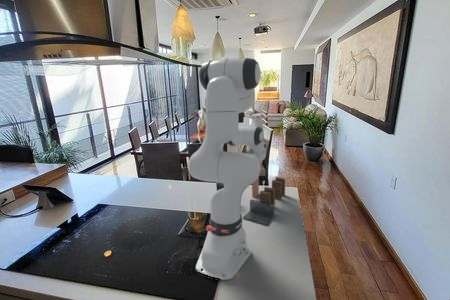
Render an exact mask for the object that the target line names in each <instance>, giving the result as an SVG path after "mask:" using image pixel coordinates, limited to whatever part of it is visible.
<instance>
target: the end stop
mask: <svg viewBox="0 0 450 300" xmlns="http://www.w3.org/2000/svg"><path fill="white" fill-rule="evenodd" d="M275 207H276V206H275V205H273V204H269V203H265V202H261V201H260V200H256V199H250V200H249V211H248V212H247V213H246V214H245V215H244V216H242V220H246V221H248V222H249V221H250V222H253V223H255V224H260V225H262V226H266V227H267V226H268V225H269V224H270V222H271V221H273V219H274V218H275V216H276V215H275V214H276V213H275V211H276V210H275V209H276V208H275Z"/></svg>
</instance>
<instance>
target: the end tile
mask: <svg viewBox="0 0 450 300" xmlns="http://www.w3.org/2000/svg"><path fill="white" fill-rule="evenodd" d="M275 180H276V181H282V197H285V195H286V178H285V177H279V176H276V177H275Z"/></svg>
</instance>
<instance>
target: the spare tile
mask: <svg viewBox="0 0 450 300" xmlns="http://www.w3.org/2000/svg"><path fill="white" fill-rule="evenodd" d="M259 184H260V179H259V177H258V178H257V180H256V181H255V182H254V183H252V184H251V189H252V190H251V195H252V196H251V197H252V198H255V199H256V197H258V196H259V195H260V187H259V186H260V185H259Z"/></svg>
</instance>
